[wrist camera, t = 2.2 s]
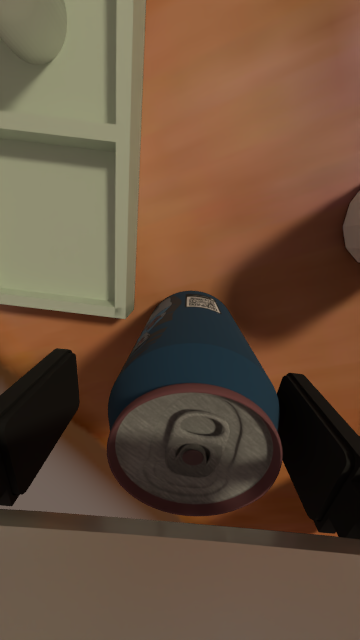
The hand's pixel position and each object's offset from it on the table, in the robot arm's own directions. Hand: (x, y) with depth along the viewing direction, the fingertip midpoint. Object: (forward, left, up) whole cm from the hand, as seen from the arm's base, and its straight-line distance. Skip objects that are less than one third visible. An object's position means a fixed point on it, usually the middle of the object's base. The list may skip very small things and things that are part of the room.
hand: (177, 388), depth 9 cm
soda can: (0, -1, -9) cm, 9 cm away
